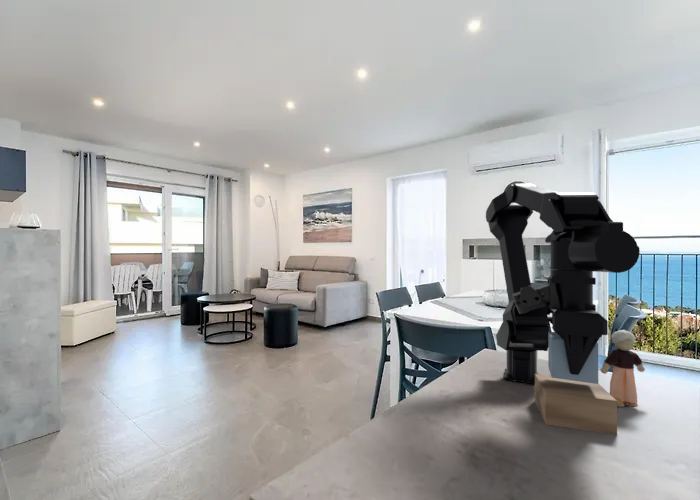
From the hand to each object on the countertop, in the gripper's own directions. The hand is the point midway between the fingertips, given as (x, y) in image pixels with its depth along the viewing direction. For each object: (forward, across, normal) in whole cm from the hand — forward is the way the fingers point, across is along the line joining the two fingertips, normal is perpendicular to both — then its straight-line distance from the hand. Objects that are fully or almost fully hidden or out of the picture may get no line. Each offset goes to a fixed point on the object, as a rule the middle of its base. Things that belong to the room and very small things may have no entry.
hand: (571, 368), depth 55 cm
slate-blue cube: (+1, 0, 0) cm, 1 cm away
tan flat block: (+8, 0, 0) cm, 8 cm away
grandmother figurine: (+8, -10, +9) cm, 15 cm away
